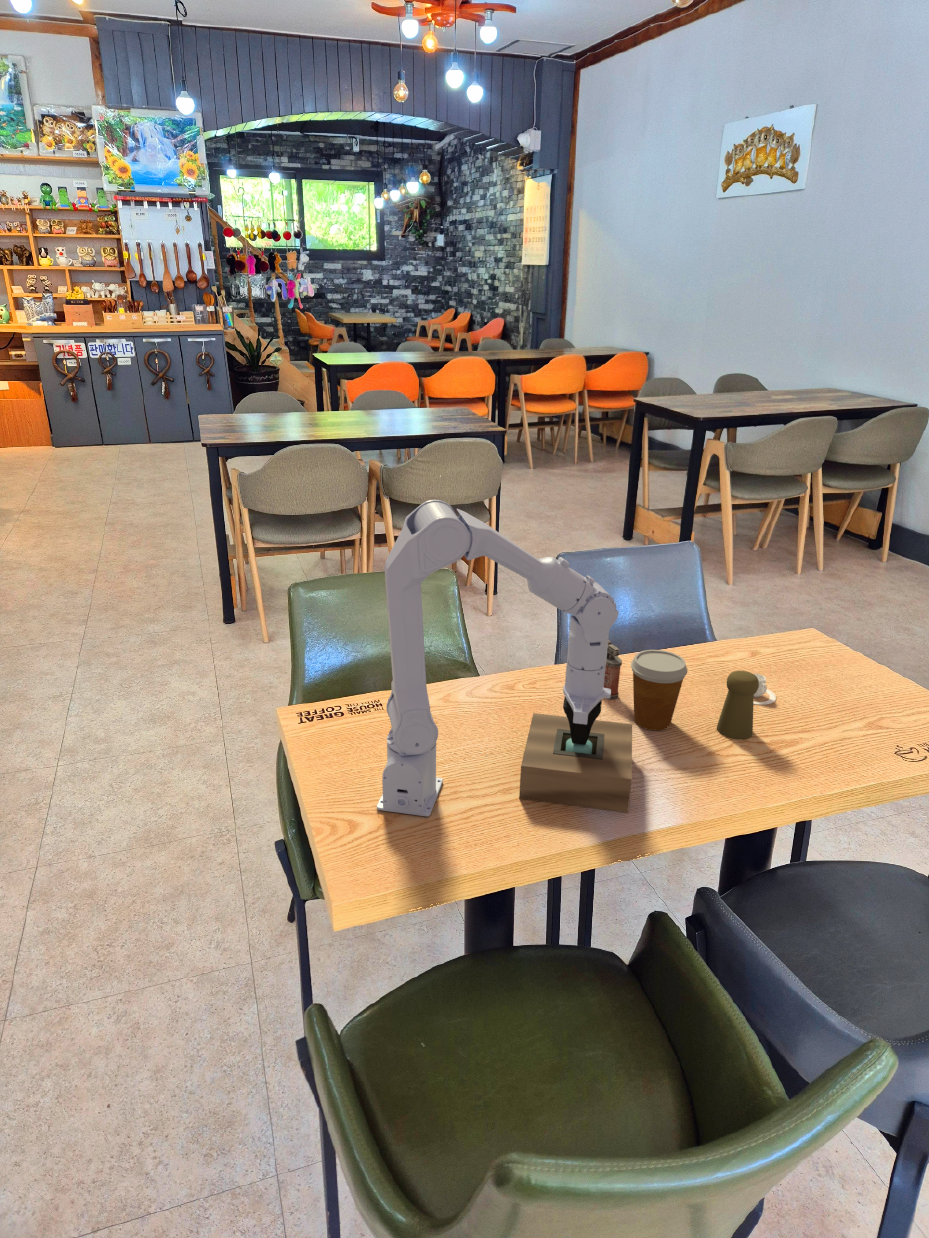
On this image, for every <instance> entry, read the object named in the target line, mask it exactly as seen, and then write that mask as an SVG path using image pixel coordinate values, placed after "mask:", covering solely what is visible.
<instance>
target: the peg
mask: <svg viewBox="0 0 929 1238" xmlns="http://www.w3.org/2000/svg"><path fill="white" fill-rule="evenodd" d="M566 751H569V752H577V753H585V754H592V743H591V742H590V741H589V740H587V743H586V745H581V744H573V743H572V740H571V738H570V739H568V740H567V741H566Z"/></svg>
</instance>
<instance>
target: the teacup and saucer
mask: <svg viewBox="0 0 929 1238" xmlns="http://www.w3.org/2000/svg"><path fill="white" fill-rule="evenodd" d="M753 674H754V675H755V676H756V677H757V678H758V681H759V687H758V690H757V692H756V693H755V694H754V698H760V697H761V696H763V695H764V694H768V696H769V699H768V700H765V701H754V702H753V705H756V706H757V705H758V706H761V705H762V706H763V705H764V706H765V705H770V704H773V703H774V702H776V700H777V695H776V694H775V693H774V692H773V691H772V690H770V689H768V687H767V684H766V683H767V682H766V681H767V677H766V676H765V675H763V674H759V673H753Z"/></svg>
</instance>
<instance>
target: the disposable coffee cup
mask: <svg viewBox="0 0 929 1238" xmlns="http://www.w3.org/2000/svg"><path fill="white" fill-rule="evenodd" d="M686 665H687V664H686V660H685V659H684V658H683V657H682V656H680V655H678V654H676V653H674V652H672V651H667V650H664V649H663V650H661V649H660V650H659V649H645V650H641V651H639V652H637V653H636V654H635V655H634V657H633V659H632V660H631V663H630V668H631V671H632V688H633V689H632V691H633V720H634V723H635V724H636V725H637V726H639V727H641V728H642V729H646V730H649V731H663V730H667V729H668V728H669V727H670V726H671V723H672V719H673V716H674V712H675V709H676V706H677V703H678V699H679V695H680V692H681V688H682V685H683V682H684V679H685V677H686V675H688V670H689V669H688V668H687V666H686Z"/></svg>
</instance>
